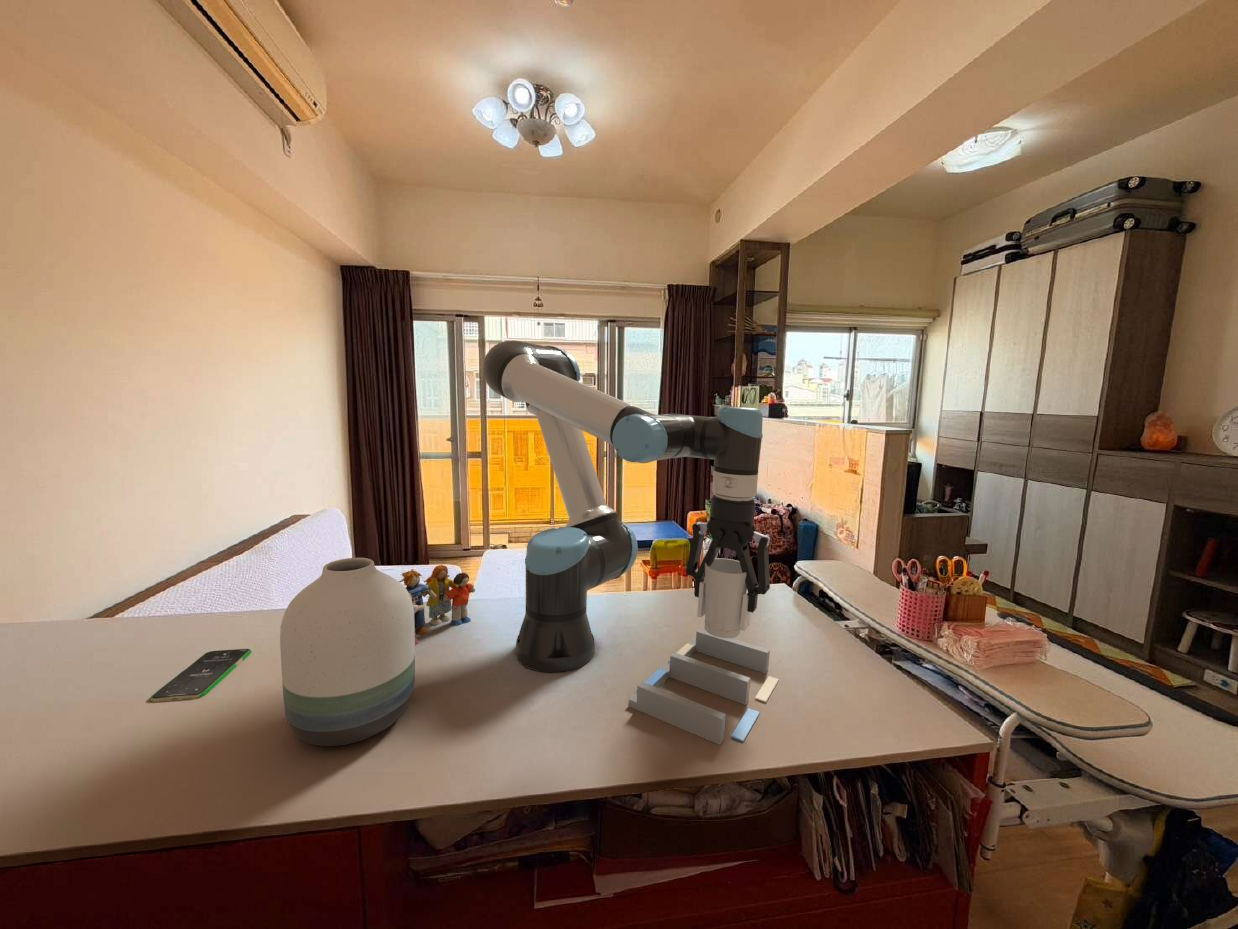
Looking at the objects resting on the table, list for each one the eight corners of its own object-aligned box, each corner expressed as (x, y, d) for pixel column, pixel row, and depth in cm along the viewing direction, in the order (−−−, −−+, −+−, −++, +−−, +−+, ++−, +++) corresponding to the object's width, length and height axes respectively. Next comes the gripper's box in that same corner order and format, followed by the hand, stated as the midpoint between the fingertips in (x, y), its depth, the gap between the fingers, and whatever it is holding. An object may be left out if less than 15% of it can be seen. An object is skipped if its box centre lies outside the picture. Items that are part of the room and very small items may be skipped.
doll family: (391, 657, 90) (389, 589, 88) (362, 642, 95) (360, 578, 93) (479, 617, 107) (479, 560, 106) (451, 606, 112) (450, 552, 111)
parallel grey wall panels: (628, 706, 77) (629, 682, 77) (691, 645, 98) (692, 626, 97) (737, 752, 68) (739, 726, 67) (782, 674, 88) (783, 653, 88)
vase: (325, 781, 60) (317, 597, 57) (262, 729, 69) (253, 567, 66) (439, 711, 75) (437, 560, 72) (375, 675, 83) (371, 540, 80)
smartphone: (145, 699, 74) (207, 650, 89) (145, 705, 74) (207, 655, 89) (201, 694, 76) (253, 647, 90) (202, 700, 76) (254, 652, 90)
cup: (746, 643, 82) (752, 576, 81) (699, 636, 84) (704, 570, 82) (743, 623, 90) (749, 561, 88) (700, 617, 92) (705, 556, 90)
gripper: (671, 490, 86) (663, 612, 89) (788, 509, 75) (773, 647, 78) (689, 485, 92) (680, 599, 95) (799, 502, 81) (785, 630, 84)
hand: (722, 620), depth 87 cm, fingers closed on cup, 7 cm apart
